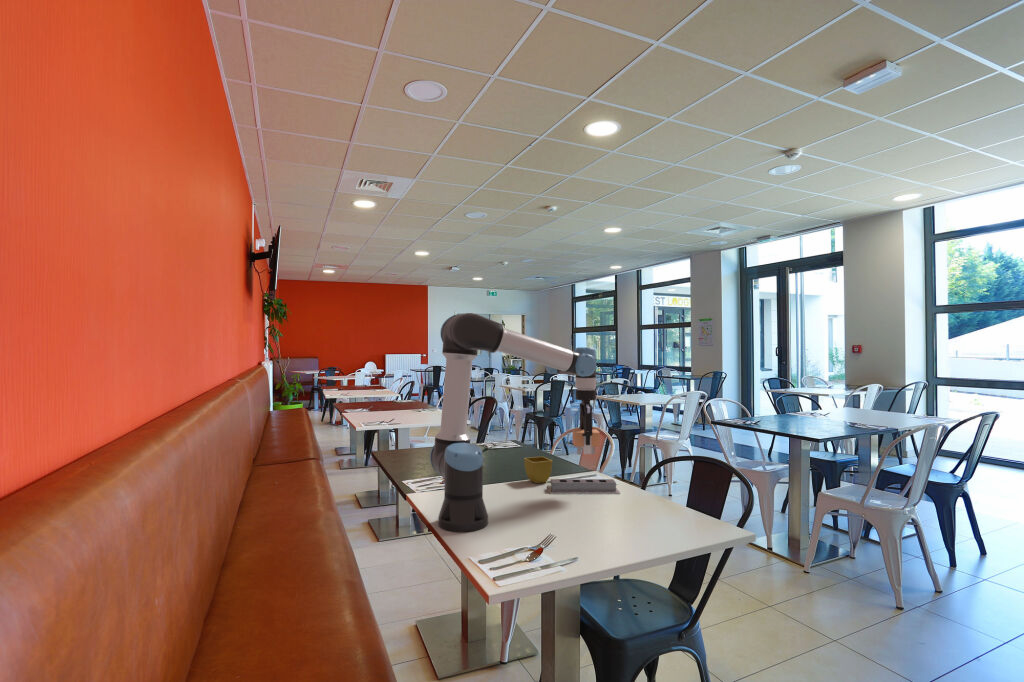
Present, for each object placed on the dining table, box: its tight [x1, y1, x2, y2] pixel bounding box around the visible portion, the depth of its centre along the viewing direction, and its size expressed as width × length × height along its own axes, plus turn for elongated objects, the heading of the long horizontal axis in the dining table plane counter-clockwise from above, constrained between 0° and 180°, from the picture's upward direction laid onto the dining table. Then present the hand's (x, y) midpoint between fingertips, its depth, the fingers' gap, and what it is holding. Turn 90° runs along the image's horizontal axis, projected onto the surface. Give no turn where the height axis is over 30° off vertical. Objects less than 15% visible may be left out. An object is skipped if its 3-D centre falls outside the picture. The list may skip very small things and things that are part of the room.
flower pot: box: [523, 456, 553, 484], centre depth 207 cm, size 9×9×9 cm
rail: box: [546, 478, 621, 495], centre depth 196 cm, size 10×26×3 cm, turn 92°
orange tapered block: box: [571, 428, 601, 455], centre depth 191 cm, size 9×7×8 cm
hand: (585, 451), depth 191 cm, fingers closed on orange tapered block, 7 cm apart
